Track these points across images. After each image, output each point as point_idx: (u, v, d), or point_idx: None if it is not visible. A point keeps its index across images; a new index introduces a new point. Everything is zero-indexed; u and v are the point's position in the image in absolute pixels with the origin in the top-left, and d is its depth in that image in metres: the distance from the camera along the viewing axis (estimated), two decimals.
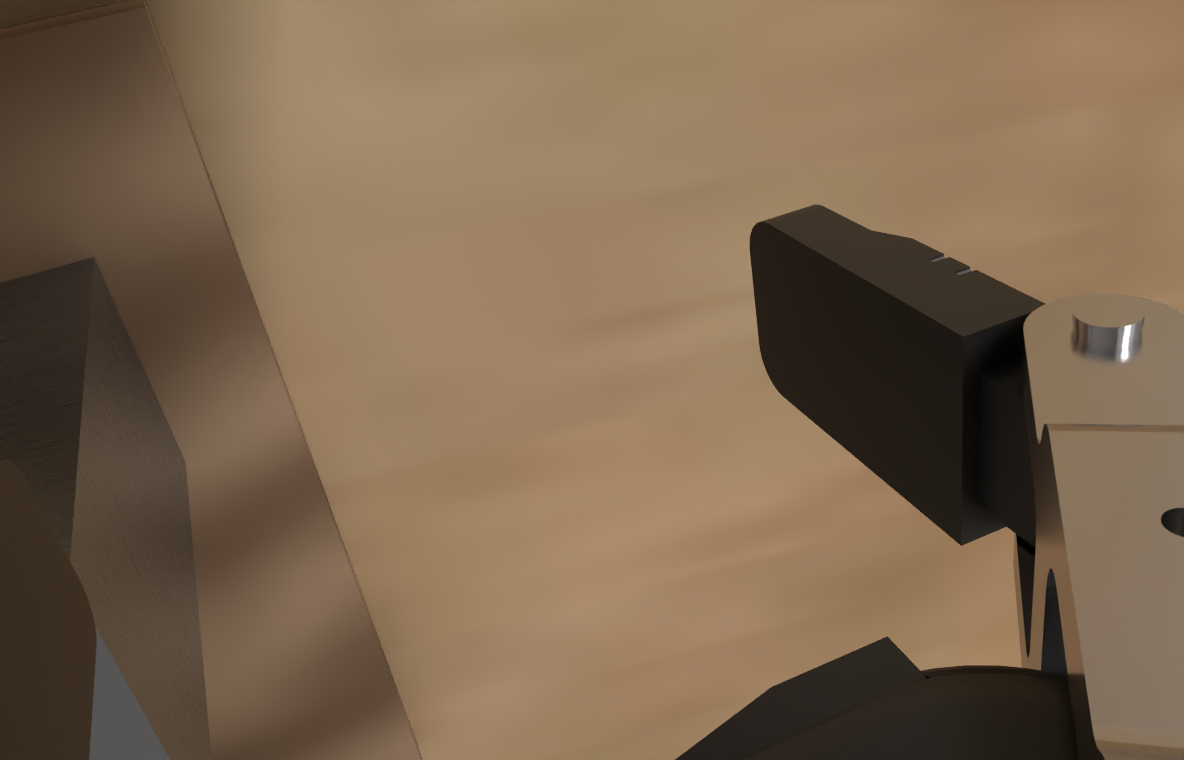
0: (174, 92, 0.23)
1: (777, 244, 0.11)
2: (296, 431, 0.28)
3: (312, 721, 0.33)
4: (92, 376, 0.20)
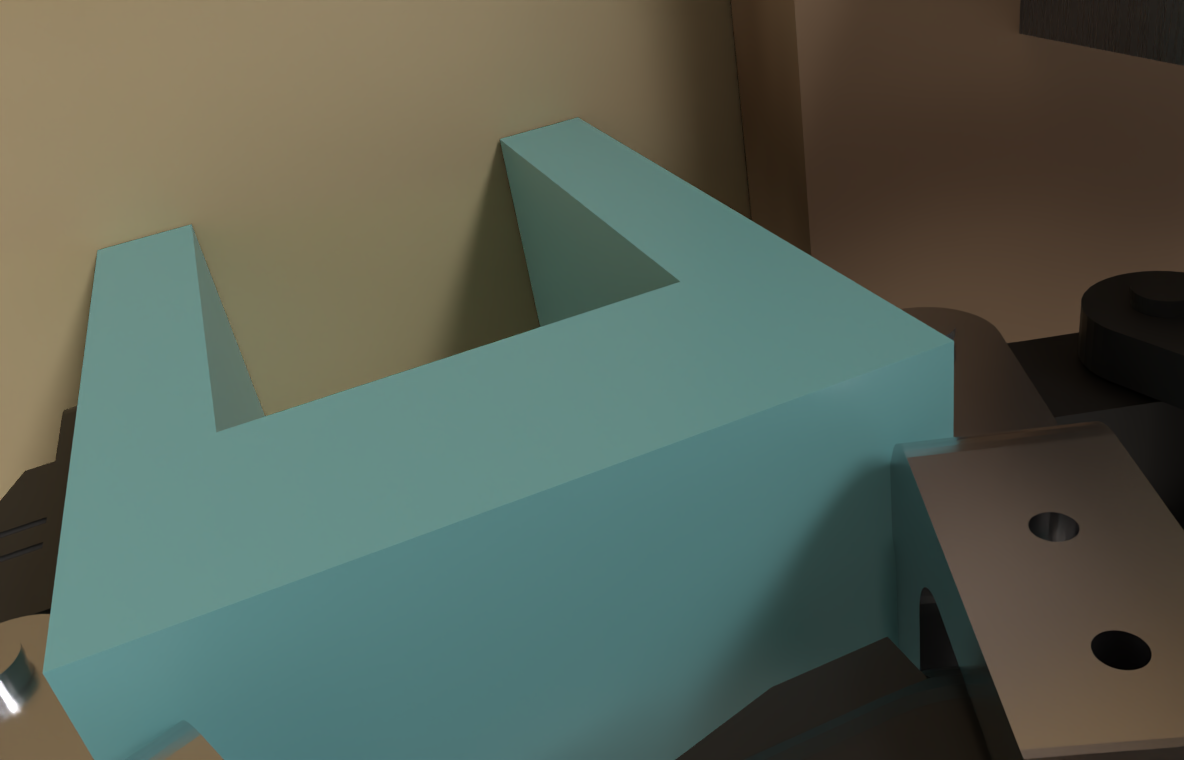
0: None
1: None
2: None
3: None
4: None
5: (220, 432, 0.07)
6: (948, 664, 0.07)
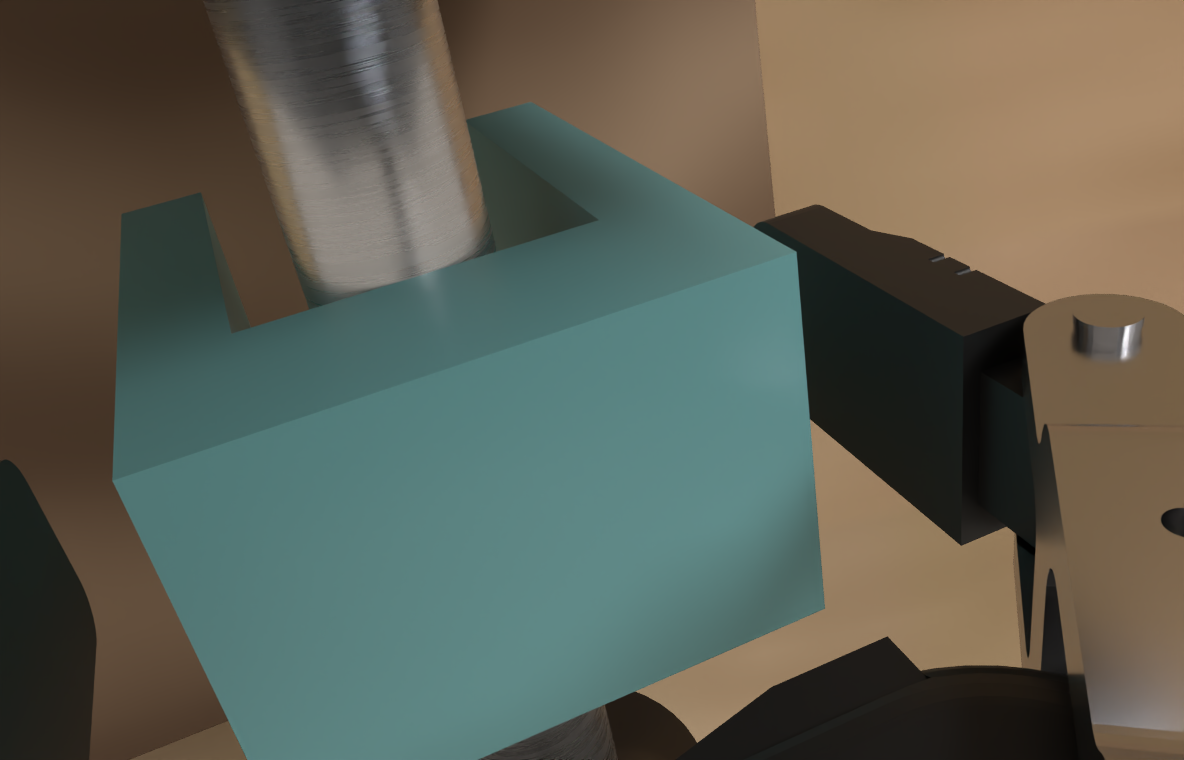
0: None
1: None
2: None
3: None
4: None
5: (234, 333, 0.09)
6: None
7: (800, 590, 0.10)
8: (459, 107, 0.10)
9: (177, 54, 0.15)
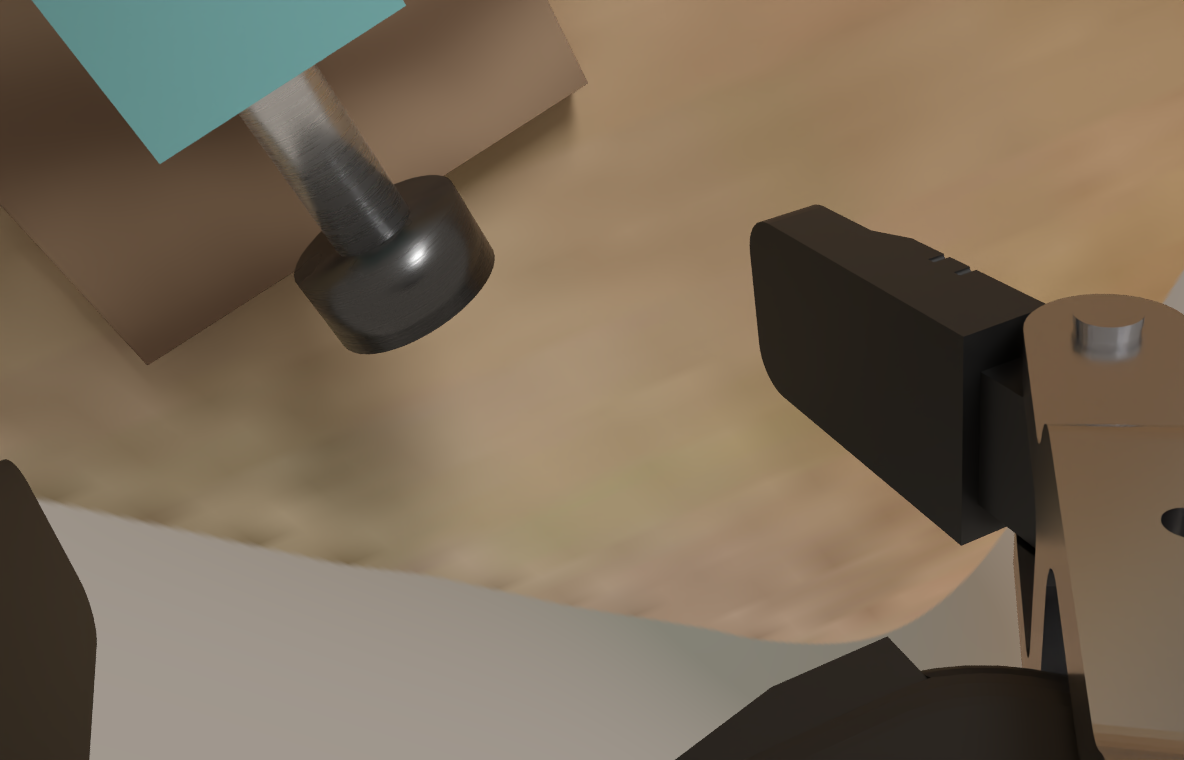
0: None
1: (777, 244, 0.11)
2: None
3: None
4: None
5: None
6: None
7: None
8: None
9: None
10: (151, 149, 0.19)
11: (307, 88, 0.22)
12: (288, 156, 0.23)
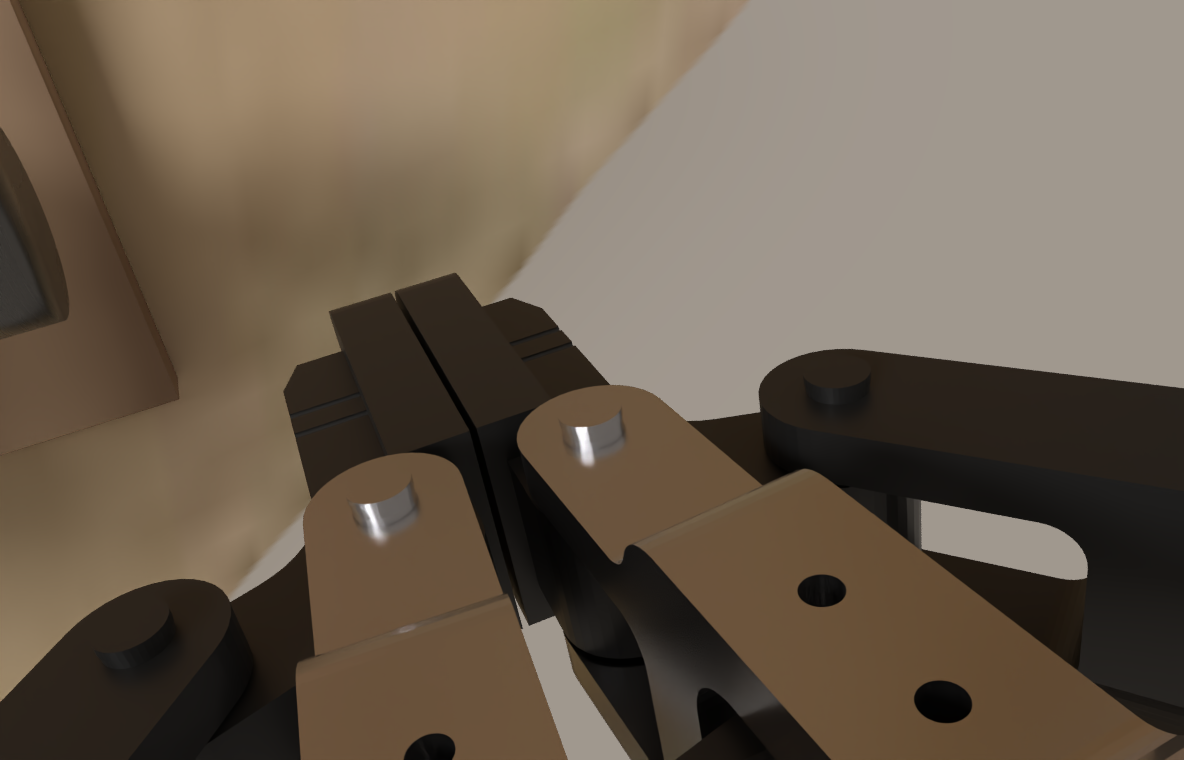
0: None
1: (405, 313, 0.11)
2: None
3: None
4: None
5: None
6: None
7: None
8: None
9: None
10: None
11: None
12: None
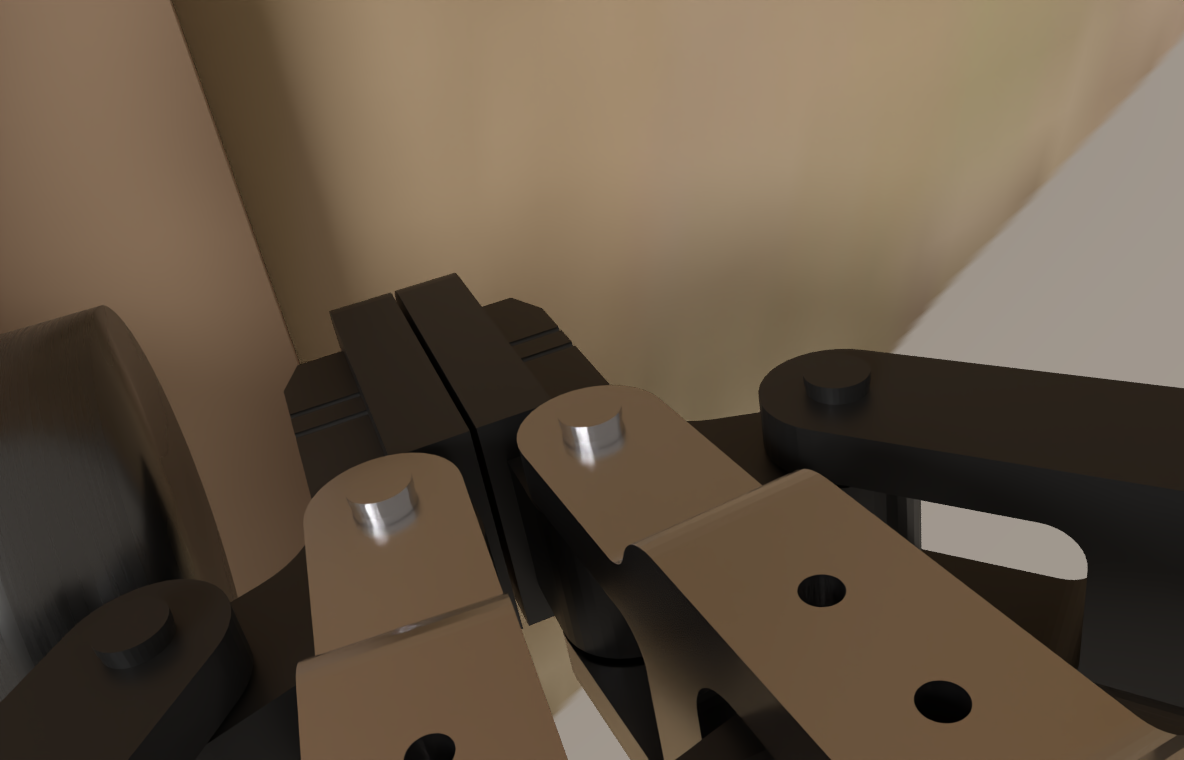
0: None
1: (405, 314, 0.11)
2: None
3: None
4: None
5: None
6: None
7: None
8: None
9: None
10: None
11: None
12: None
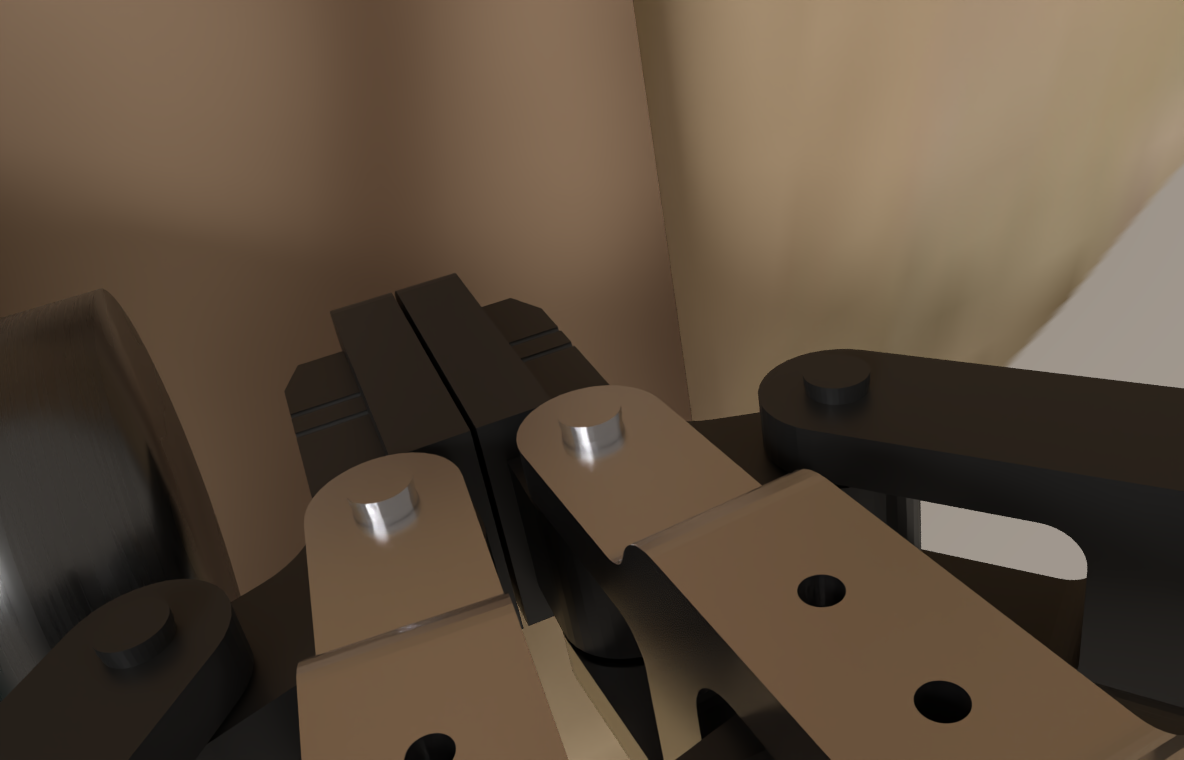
0: None
1: (405, 314, 0.11)
2: None
3: None
4: None
5: None
6: None
7: None
8: None
9: None
10: None
11: None
12: None
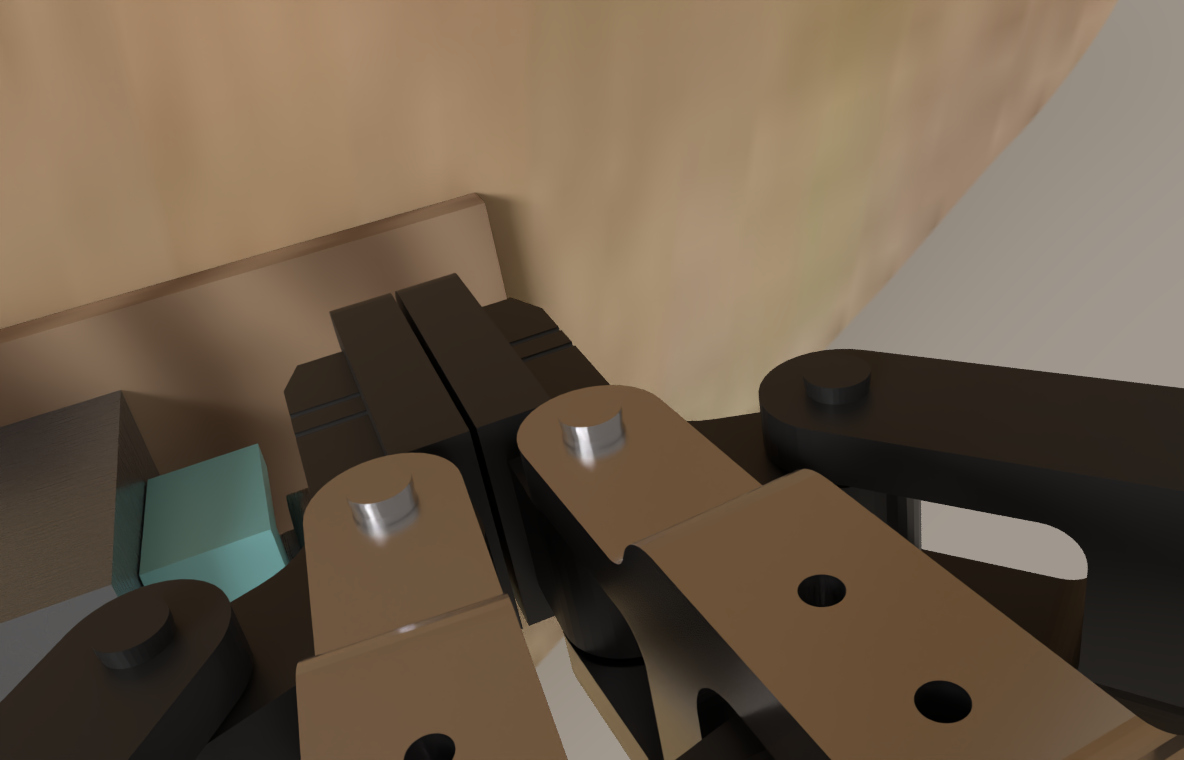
0: None
1: (405, 313, 0.11)
2: (93, 319, 0.37)
3: None
4: None
5: None
6: None
7: (261, 540, 0.32)
8: None
9: None
10: None
11: None
12: None
